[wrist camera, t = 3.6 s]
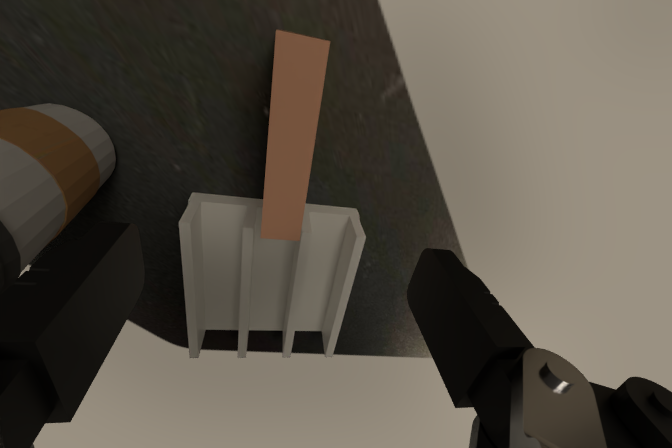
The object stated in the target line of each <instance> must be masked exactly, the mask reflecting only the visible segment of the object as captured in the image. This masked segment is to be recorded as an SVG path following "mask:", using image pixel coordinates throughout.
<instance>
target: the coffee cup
mask: <svg viewBox="0 0 672 448" xmlns="http://www.w3.org/2000/svg"><path fill="white" fill-rule="evenodd" d="M115 162H116V156H115V151H114V146H113V143H112V141H111V139H110V137H109V136H108V134H107V133H106V132H105V130H104V129H103V128H102V127H101V126H100V125H99V124H98V123H97V122H95V121H94V120H93V119H92V118H90V117H88V116H87V115H85V114H83V113H82V112H79V111H77V110H75V109H72V108H69V107H66V106H64V105H57V104H40V105H34V106H29V107H22V108H11V109H4V110H0V294H2V293H3V292H4V291H5V290H6V289H7V288H8V287H9V286H10V285H14V284H15V281H16V280H17V279H18V277H19V275H20V273H21V272H22V270H24V268H25V267H26V266H27V265H28V264H29V263H30V262H31V261H32V260H33V259H34V258H35V257H36V256H37V254H38V253H39V252H40V251H41V250H42V249H43V248H45V247H46V246H47V245H48V244H49V243H50V242H51V241H52V240H53V239H54V238H56V237H57V236H58V234H59V233H60V232H61V231H62V230H63V229H64V228H65V227H66V226H67V225H68V224H69V222H70V221H71V220H72V219H73V218H74V217H75V216H76V215H77V214H78V213H79V211H80V210H81V209H82V208H83V207H84V206H85V205H86V204H87V203H88V202H89V201H90V199H91V198H92V197H93V196H94V195H95V194H96V192H97V190H98V189H99V188H100V187H101V186H102V184H103V183H104V182H105V181H106V180H107V179H108V178H109V177H110V176H111V174H112V172H113V170H114V168H115Z"/></svg>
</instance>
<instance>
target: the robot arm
mask: <svg viewBox="0 0 672 448" xmlns="http://www.w3.org/2000/svg"><path fill="white" fill-rule="evenodd" d="M144 281H145V269H144V262H143V255H142V249H141V242H140V235H139V230H138V228H137V226H136V225H135V224H129V223H117V222H104V221H99V222H97V223H96V224H95V225H94V226H93V227H92V228H91V229H90V230H89V231H88V232H87V233H86V234H85V235H84V236H83V237H82V238H81V239H80V240H72V239H71V240H69V241H67V242H65V243H63V244H61V245H59V246H57V247H55V248H53V249H51V250H49V251H47V252H46V253H45V254H44V255H43V256H42V257H41V258H40V259H38V260H37V261H36V262H35V263H34V264H33V265H32V266H31V267H30V270H29V271H25V272H24V273H23V274H22V275H21V276H20V277H19V278H18V279H17V280H16V281H15V284H14V285H10V286H9V287H8V288H7V289H6V290H5V291H4V292H3V293H2V294H0V448H34V445H33V442H34V440H35V438H36V437H37V435H38V434H39V432H40V431H41V429H42V427H43V426H44V424H45V423H63V422H71V420H72V418H73V416H74V415H75V413H76V411H77V409H78V407H79V405H80V404H81V402H82V400H83V398H84V396H85V395H86V393H87V391H88V389H89V387H90V385H91V384H92V382H93V380H94V378H95V376H96V375H97V373H98V371H99V369H100V367H101V365H102V364H103V362H104V360H105V358H106V356H107V355H108V353H109V351H110V349H111V347H112V346H113V344H114V342H115V340H116V338H117V336H118V335H119V333H120V331H121V329H122V327H123V325H124V324H125V322H126V320H127V318H128V316H129V315H130V313H131V311H132V309H133V307H134V306H135V304H136V302H137V300H138V298H139V296H140V295H141V292H142V289H143V286H144ZM407 299H408V304H409V307H410V309H411V311H412V313H413V315H414V318H415V320H416V322H417V324H418V326H419V329H420V331H421V333H422V335H423V337H424V340H425V342H426V344H427V346H428V349H429V351H430V353H431V355H432V357H433V359H434V362H435V364H436V366H437V368H438V371H439V373H440V375H441V377H442V379H443V381H444V384H445V386H446V388H447V390H448V393H449V395H450V397H451V399H452V401H453V404H454V406H455V408H465V407H474V409H475V411H476V413H477V416H476V418H475V419H474V421H473V424H472V431H471V437H470V444H469V448H672V392H671V391H669V390H667V389H666V388H664V387H662V386H661V385H659V384H657V383H655V382H652V381H650V380H647V379H644V378H641V377H630V378H628V379H627V380H626V381H625V382H624V383H623V384H622V385H621V386H620V387H619V388H617V389H616V390H615V389H612V388H609V387H605V386H602V385H598V384H595V383H591V382H588V380H587V379H586V378H585V377H584V375H583V374H582V373H581V372H580V371H579V370H578V369H577V368H576V367H575V366H573V365H572V364H571V363H570V362H568V361H567V360H565V359H564V358H562V357H561V356H559V355H557V354H555V353H553V352H551V351H548V350H545V349H540V348H535V347H534V346H533V345H532V344H531V342H530V341H529V340H528V339H527V338H526V336H525V335H524V334H523V332H522V331H521V330H520V329H519V327H518V326H517V325H516V323H515V322H514V321H513V320H512V318H511V317H510V316H509V315H508V313H507V312H506V311H505V310H504V308H503V307H502V306H500V305H499V302H498V301H497V299H496V298H495V297H494V296H493V295H492V294H490V291H489V289H488V288H487V287H486V286H485V284H484V283H483V282H482V281H481V279H480V278H479V277H477V276H476V275H475V274H473V273H472V272H471V271H470V270H468V269H467V268H466V267H464V266H463V264H462V263H461V262H460V260H459V259H458V258H457V257H456V255H455V254H454V253H453V252H452V251H451V250H443V249H431V248H426V249H425V250H423V252H422V253H421V256H420V258H419V261H418V263H417V266H416V268H415V271H414V273H413V275H412V278H411V280H410V283H409V286H408V290H407Z"/></svg>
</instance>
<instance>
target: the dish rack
mask: <svg viewBox="0 0 672 448" xmlns="http://www.w3.org/2000/svg"><path fill="white" fill-rule="evenodd" d="M262 210H263V199H254V198H244V197H234V196H224V195H214V194H204V193H194V192H193V193H192V194H191V196H190V198H189V200H188V206H187V208H186V210H185V212H184V214H183V215H182V217H181V219H180V221H179V232H180V244H181V257H182V269H183V281H184V293H185V305H186V318H187V330H188V342H189V353H190V358H198V357H199V353H200V350H201V346H202V342H203V338H204V334H205V331H206V330H239V336H238V357H239V358H244V357H246V350H247V342H248V334H249V330H278V331H283V357H290V355H291V350H292V344H293V338H294V332H295V331H322V337H323V345H324V353H325V357H332V356H333V352H334V349H335V345H336V341H337V338H338V334H339V331H340V327H341V324H342V320H343V317H344V313H345V310H346V306H347V302H348V299H349V295H350V292H351V288H352V285H353V281H354V278H355V274H356V270H357V267H358V263H359V260H360V256H361V253H362V249H363V246H364V242H365V239H366V236H365V234H364V231H363V229H362V226H361V224H360V221H359V217H360V216H359V213H358V211H357V209H354V208H344V207H334V206H324V205H314V204H305V209H304V215H303V222H302V228H301V235H300V241H292V240H278V239H265V238H260V237H261V223H262Z"/></svg>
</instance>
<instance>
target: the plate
mask: <svg viewBox="0 0 672 448" xmlns="http://www.w3.org/2000/svg"><path fill="white" fill-rule="evenodd" d="M329 46H330V41H327V40H323V39H319V38H316V37H312V36H307V35H302V34H298V33H293V32H288V31H284V30H276V38H275V52H274V65H273V78H272V91H271V104H270V118H269V131H268V144H267V157H266V171H265V184H264V197H263V210H262V223H261V237H260V238H265V239H278V240H292V241H300V235H301V228H302V222H303V215H304V209H305V202H306V196H307V189H308V183H309V176H310V170H311V163H312V157H313V150H314V144H315V137H316V130H317V124H318V117H319V111H320V104H321V98H322V91H323V85H324V78H325V72H326V65H327V59H328V52H329Z"/></svg>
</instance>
